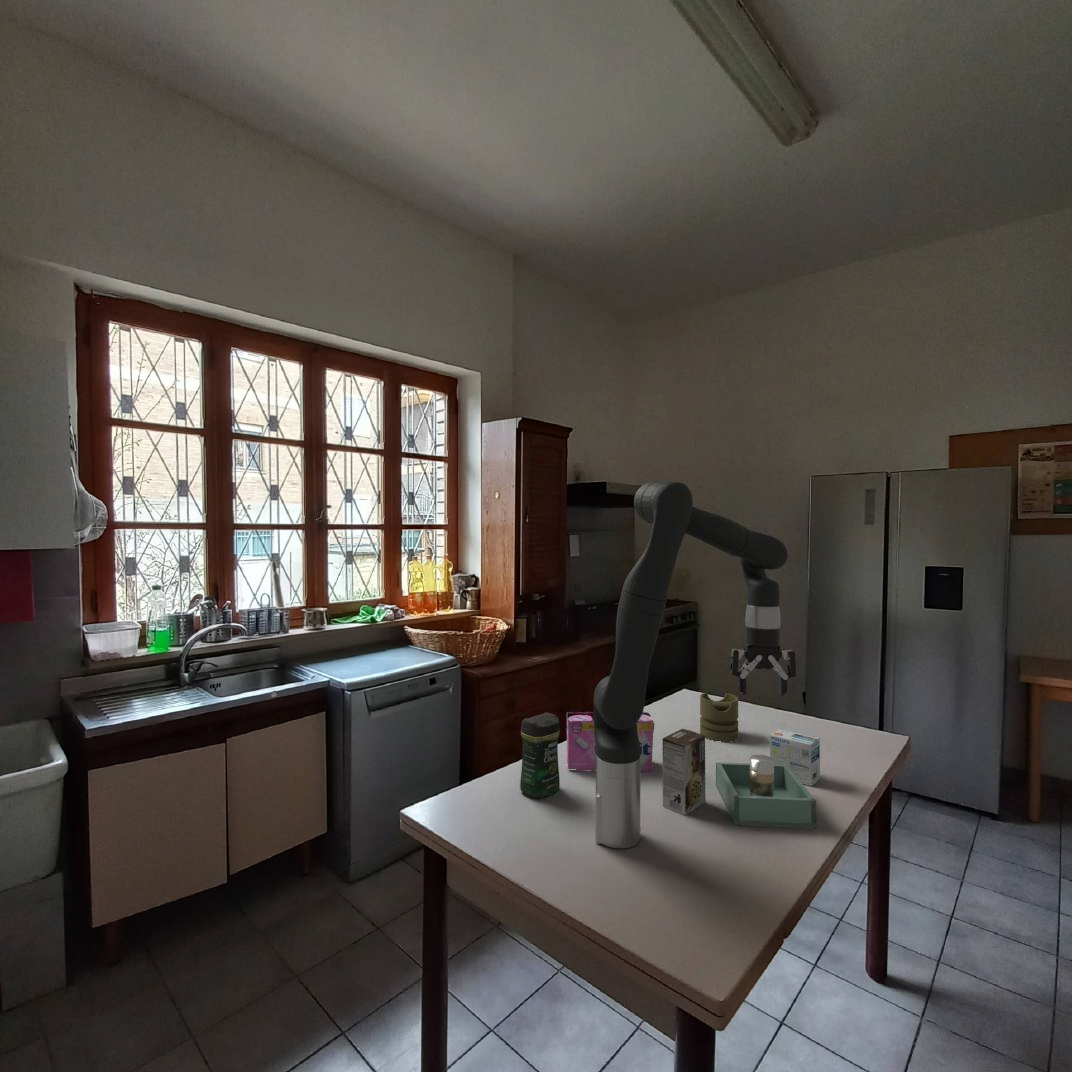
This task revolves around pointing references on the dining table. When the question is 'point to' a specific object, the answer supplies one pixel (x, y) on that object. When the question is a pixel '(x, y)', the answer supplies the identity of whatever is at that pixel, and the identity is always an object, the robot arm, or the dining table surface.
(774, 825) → the green tray
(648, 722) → the gum box
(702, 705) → the piston
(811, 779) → the light bulb box
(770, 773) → the shiny silver brown cylinder
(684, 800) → the coffee box
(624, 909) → the dining table surface
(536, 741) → the coffee jar
